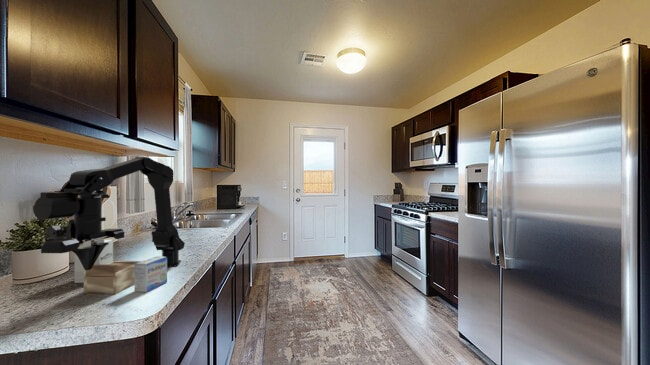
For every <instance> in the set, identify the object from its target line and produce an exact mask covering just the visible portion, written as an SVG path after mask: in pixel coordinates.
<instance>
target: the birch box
mask: <svg viewBox="0 0 650 365" xmlns="http://www.w3.org/2000/svg"><path fill="white" fill-rule="evenodd" d="M142 261H143V260H138V261H137V260H136V261H135V260H134V261H133V260H130V261H129V260H115V261H114V260H113V262H112V263H109V264H106V265H111V264H113V263H139V262H142ZM132 286H135V274H134V265H133V266H131V267H128V268H126V269H123V270H121V271H119V272H116V273H115V276H86V272H84V282H83V294H98V295H99V294H100V295H102V294H104V295H105V294H107V295H108V294H109V295H111V294H112V295H113V294H114V295H115V294H116V295H117V294H119V293H120V292H123V291H125V290H127V289H128V288H130V287H132Z"/></svg>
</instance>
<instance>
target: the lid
mask: <svg viewBox="0 0 650 365" xmlns="http://www.w3.org/2000/svg"><path fill="white" fill-rule="evenodd" d="M134 264H136V263H113V264H111V265H97V264H94V265H93V267H92V268H91V269H90V270H86V276H115V273H116V272H119V271H121V270H123V269H126V268H128V267H131V266H133V265H134Z"/></svg>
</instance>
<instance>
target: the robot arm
mask: <svg viewBox="0 0 650 365" xmlns="http://www.w3.org/2000/svg"><path fill="white" fill-rule="evenodd" d="M173 169H174V168H172V167H171V166H169V165H166V164H165V163H161V162H159V161H157V160H154V159H152V158H150V157H147V156H135V157H133V158H131V159H129V160H126V161H122V162H119V163H116V164H113V165H109V166H105V167H103V168H96V169H95V168H93V169H92V168H91V169H86V170H85V169H84V170H76V171H74V172H73V173H71V174H70V177H69V179H68V181H67V182H66V183H65V184H64V185H63V186H62V187H61V188H60V190H58V192H53V191H49V192H48V191H45V192H42V191H41V192H40V193H39V194H40V195H39V196H40V197H38V198H37V199H36V201H35V203H34V205H32V211H33V214H34V216H35V218H37V219H38V220H41V221H47V220H55V219H56V220H57V219H63V218H71V217H72V219H69V220H68V225H65V226H60V225H58V224H57V225H52V226H51V225H50V226H48V227H46V231H45V235H46V238H47V239H48V240H47V241H44V242H43V243H42V244H41V246H40V253H41V254H65V253H70V252H72V253H74V255H75V254H76V255H77V257H78V258H79V260H80V262H81V264H82V266H83V268H84V269H85V270H90V269H91V268H92V267H93V265H94V263H95V262H96V260H97V258H98V257H99V255H100V253H101V252H102V250H103V249H104V248H105V246H106V245H108V242H104V240H107V239H109V238H113V239H115V240H120V239H123V238H125V231H124V230H123V228H105V229H102V225H103V224H102V223H103V222H106V216H105V217H103V216H102V214H103V212H102V211H103V210H102V209H103V208H102V203H103V200H102V199H109V198H110V197H111V196H110V195H109V194H107V193H106V192H105V191H104V189H107V187H109V186H110V185H112V183H113V182H114V181H116V180H118V179H120V178H123V177H125V176H128V175H131V174H134V173H136V172H140V174H143V175H144V176H146V178H147V181H148V184H149V185H150V186H151V187H152V189H153V192H154V193H153V194H154V201H155V202H154V203H155V211H156V212H155V213H156V224H157V227H155V230H153V231H151V233H150V235H151V237H152V238H151V239H152V240H151V242H153V244H154V246H155V249H156V251H161V256H163V257H167V268H169V267H177V266H179V265H180V264H181V262H182V260H181V259H179V257H180V254H179V253H180V252H179V251H182V250H183V249H184V248H185V245H186V244H185V242H184V240H182V239H181V238H180V235H179V231H178V229H177V228H176V226H175V225H174V223H173V216H172V214H173V213H172V212H173V211H172V204H171V203H172V202H171V193H170V192H171V191H170V189H171V188H170V187H171V186H172V184H173V183H174V170H173Z"/></svg>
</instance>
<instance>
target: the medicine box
mask: <svg viewBox="0 0 650 365" xmlns="http://www.w3.org/2000/svg"><path fill="white" fill-rule="evenodd" d="M141 261H142V262H139V263H136V264H134V274H135V284H134V292H139V293H141V292H142V293H148V292H150V291H152V290H154V289H156V288H158V287H160V286H162V285H164V284H167V283H168V267H167V257H163V256H162V255H160V256H153V257H151V258H148V259H145V260H141Z"/></svg>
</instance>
